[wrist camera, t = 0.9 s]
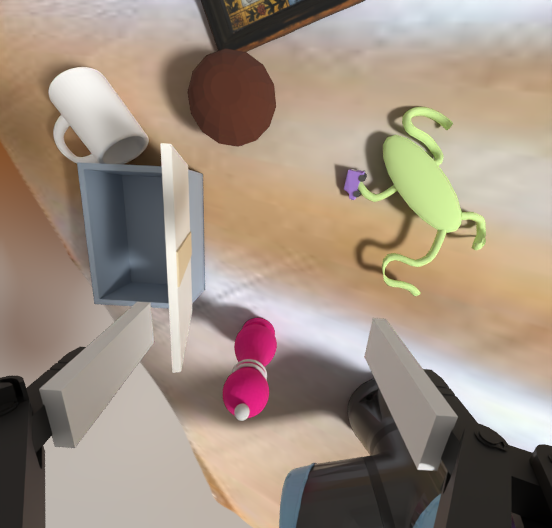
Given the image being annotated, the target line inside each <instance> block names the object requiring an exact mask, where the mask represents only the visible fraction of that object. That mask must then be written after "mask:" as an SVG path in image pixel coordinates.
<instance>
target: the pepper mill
mask: <svg viewBox="0 0 552 528" xmlns="http://www.w3.org/2000/svg"><path fill="white" fill-rule="evenodd" d="M234 348H235V354H236V357H237V360H238V363H237V364H236V365H235V366H234V368H233V371H232V374H231V375H230V376H229V377H228V378H227V380H226V382H225V384H224V387H223V401H224V404H225V407H226V408H227V409H228V411H229V412H230V413H231V414H233V415H235V417H236V418H237V419H238V420H240V421H243V420H245V419H247V418H250V417H254V416H256V415H257V414H259V413H260V412H261V411H262V410H263V409H264V407H265V406H266V404H267V401H268V397H269V386H268V383H267V371H266V369H265V366H266V365H268V364H269V363H270V361H271V360H272V359H273V357H274V355H275V352H276V348H277V342H276V338H275V331H274V328H273V326H272V324H271V323H270V322H269V321H267V320H265V319H262V318H253V319H250V320H248V321H247V322H246V323H245V324H244V326H243V328H242V330H241V331H240V332H239V333H238V335H237V337H236V340H235V346H234Z"/></svg>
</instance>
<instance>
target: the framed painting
mask: <svg viewBox="0 0 552 528" xmlns="http://www.w3.org/2000/svg"><path fill="white" fill-rule="evenodd" d="M363 1H365V0H201V2H202V5H203V8H204V11H205V14H206V17H207V20H208V22H209V25H210V28H211V31H212V34H213V37H214V40H215V43H216V46H217V48H218V51H220V50H223V49H231V50H237V51H243V52H247V51H249V50H252V49H254V48H256V47H258V46H261V45H263V44H265V43H267V42H270V41H272V40H275V39H277V38H280V37H282V36H285V35H287V34H289V33H291V32H293V31H295V30H297V29H299V28H302V27H304V26H307V25H309V24H311V23H313V22H316V21H318V20H320V19H322V18H325V17H327V16H330V15H332V14H334V13H336V12H339V11H342V10H344V9H347V8H349V7H351V6H354V5H356V4H359V3H361V2H363Z"/></svg>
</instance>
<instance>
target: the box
mask: <svg viewBox="0 0 552 528" xmlns="http://www.w3.org/2000/svg"><path fill="white" fill-rule="evenodd" d="M77 166H78V174H79V182H80V191H81V199H82V207H83V215H84V223H85V231H86V239H87V247H88V255H89V263H90V272H91V280H92V288H93V296H94V304H103V305H120V306H133V305H134V304H135V303H136V302H150V303H151V307H154V308H169V297H168V278H167V259H166V239H165V220H164V201H163V182H162V166H143V165H122V164H100V163H79V162H77ZM188 180H189V214H190V232H191V241H192V255H191V281H192V303H193V302H194V301H195V300H196V299H197V298H198V297H199V296H200V294H201V293H202V292H203V291H204V290H205V263H204V205H203V174H201V173H198V172H195V171H192V170H189V169H188Z"/></svg>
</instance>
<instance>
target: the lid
mask: <svg viewBox="0 0 552 528" xmlns="http://www.w3.org/2000/svg"><path fill="white" fill-rule="evenodd" d="M161 162H162V182H163V201H164V220H165V239H166V259H167V278H168V297H169V316H170V336H171V355H172V373H175V372H181V370H182V365H183V359H184V354H185V348H186V343H187V338H188V332H189V327H190V321H191V316H192V281H191V255H192V241H191V232H190V214H189V180H188V165H187V163H186V162H185V161H184V160H183V158H182V157H181V156H180V154H179V153H178V152H177V151H176V149H175V148H174V147H173V146H172V144H163V143H161Z"/></svg>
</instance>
